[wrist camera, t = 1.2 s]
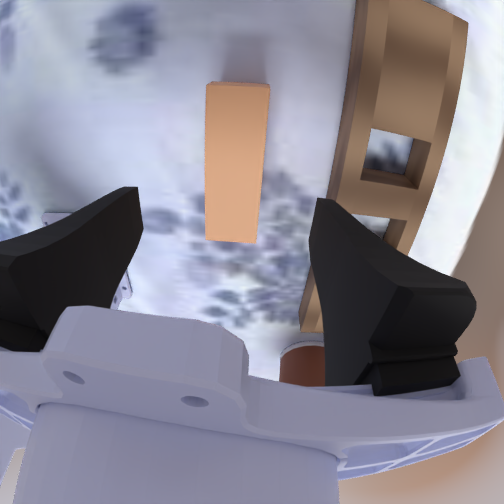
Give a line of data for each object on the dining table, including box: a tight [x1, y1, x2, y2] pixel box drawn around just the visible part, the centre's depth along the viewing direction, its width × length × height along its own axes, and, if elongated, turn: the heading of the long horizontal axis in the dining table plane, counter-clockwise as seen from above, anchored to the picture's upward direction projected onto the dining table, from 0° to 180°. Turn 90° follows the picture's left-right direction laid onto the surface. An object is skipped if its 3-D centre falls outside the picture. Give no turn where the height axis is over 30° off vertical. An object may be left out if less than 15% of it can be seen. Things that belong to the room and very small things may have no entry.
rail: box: [299, 0, 468, 333], centre depth 20 cm, size 28×7×2 cm, turn 176°
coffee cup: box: [279, 341, 325, 387], centre depth 29 cm, size 9×9×12 cm
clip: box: [205, 82, 270, 243], centre depth 17 cm, size 9×3×5 cm, turn 176°
